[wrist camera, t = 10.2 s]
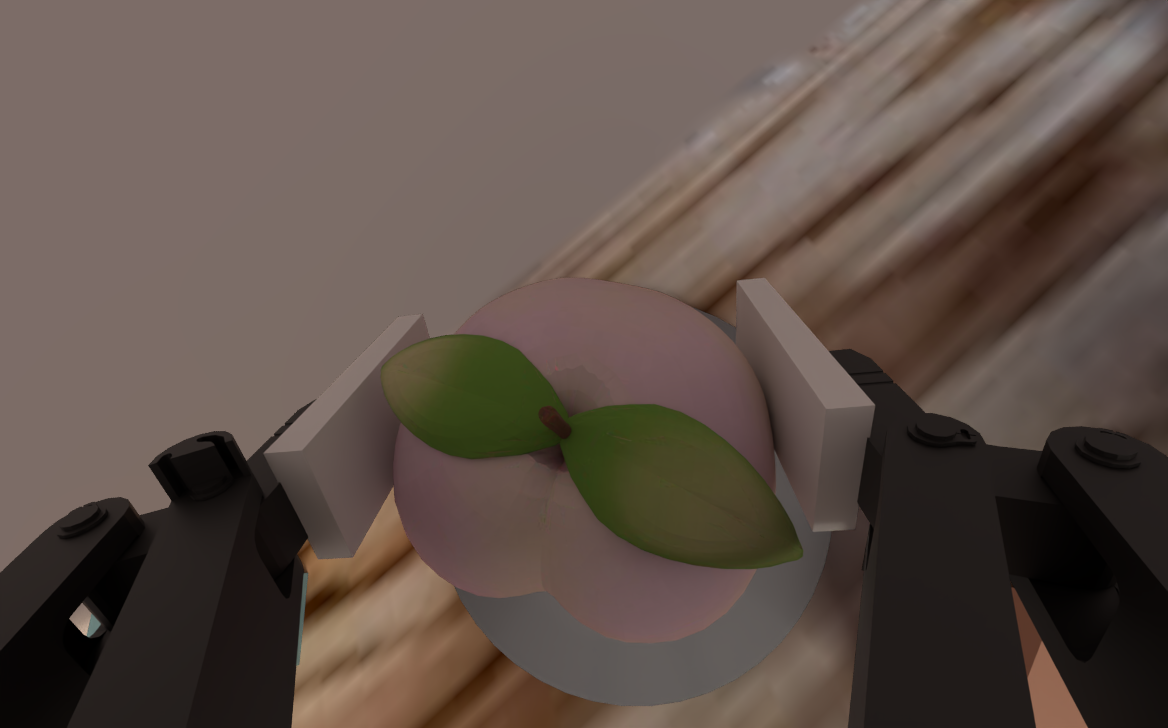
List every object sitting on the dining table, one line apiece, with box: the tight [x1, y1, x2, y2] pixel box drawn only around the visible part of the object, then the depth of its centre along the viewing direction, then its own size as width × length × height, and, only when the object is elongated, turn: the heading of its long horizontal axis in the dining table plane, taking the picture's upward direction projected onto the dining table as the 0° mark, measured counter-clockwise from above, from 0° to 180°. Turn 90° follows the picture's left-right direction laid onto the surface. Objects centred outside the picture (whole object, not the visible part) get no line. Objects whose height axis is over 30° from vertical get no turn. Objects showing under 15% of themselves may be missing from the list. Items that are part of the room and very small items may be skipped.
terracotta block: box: [1011, 587, 1088, 728], centre depth 17 cm, size 6×6×6 cm
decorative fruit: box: [380, 278, 804, 643], centre depth 13 cm, size 9×8×10 cm
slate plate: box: [454, 307, 831, 706], centre depth 24 cm, size 18×18×1 cm
